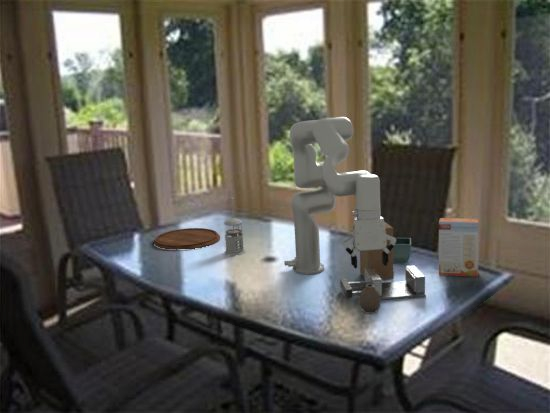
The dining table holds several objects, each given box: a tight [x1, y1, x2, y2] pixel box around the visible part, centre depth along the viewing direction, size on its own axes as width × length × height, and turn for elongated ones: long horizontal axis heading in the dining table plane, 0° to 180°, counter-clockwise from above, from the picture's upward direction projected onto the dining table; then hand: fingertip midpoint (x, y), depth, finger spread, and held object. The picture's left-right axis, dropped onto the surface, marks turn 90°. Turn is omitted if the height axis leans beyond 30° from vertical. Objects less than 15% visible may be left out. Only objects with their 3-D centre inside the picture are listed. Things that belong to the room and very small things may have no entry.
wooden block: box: [359, 221, 395, 281], centre depth 227 cm, size 10×10×20 cm
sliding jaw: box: [339, 268, 383, 299], centre depth 212 cm, size 12×12×6 cm
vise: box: [358, 264, 427, 302], centre depth 212 cm, size 20×14×7 cm
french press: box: [223, 197, 247, 257], centre depth 267 cm, size 10×12×25 cm
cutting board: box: [153, 227, 221, 250], centre depth 291 cm, size 32×32×3 cm
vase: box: [358, 284, 382, 314], centre depth 198 cm, size 7×7×9 cm
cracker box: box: [438, 217, 480, 278], centre depth 226 cm, size 14×6×21 cm, turn 71°
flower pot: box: [393, 237, 412, 265], centre depth 243 cm, size 9×9×9 cm
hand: (369, 265), depth 195 cm, fingers open, 9 cm apart
